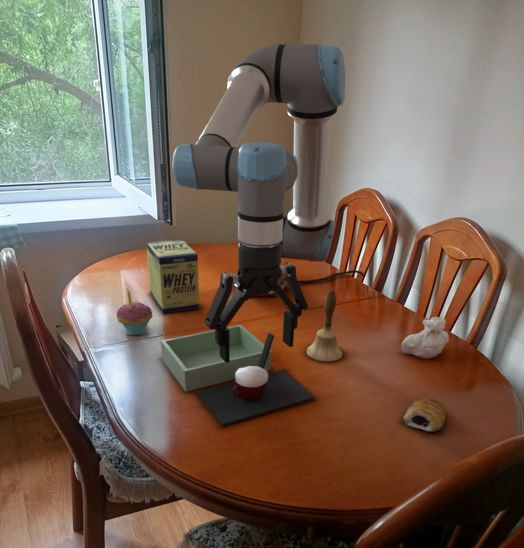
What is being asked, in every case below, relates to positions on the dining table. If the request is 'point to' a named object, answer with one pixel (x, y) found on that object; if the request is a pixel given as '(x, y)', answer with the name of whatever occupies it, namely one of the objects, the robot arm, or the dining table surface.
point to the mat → (275, 397)
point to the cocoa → (253, 376)
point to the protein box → (173, 275)
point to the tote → (210, 357)
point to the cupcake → (134, 316)
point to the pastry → (426, 415)
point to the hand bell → (326, 335)
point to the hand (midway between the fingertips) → (257, 351)
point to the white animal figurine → (427, 339)
